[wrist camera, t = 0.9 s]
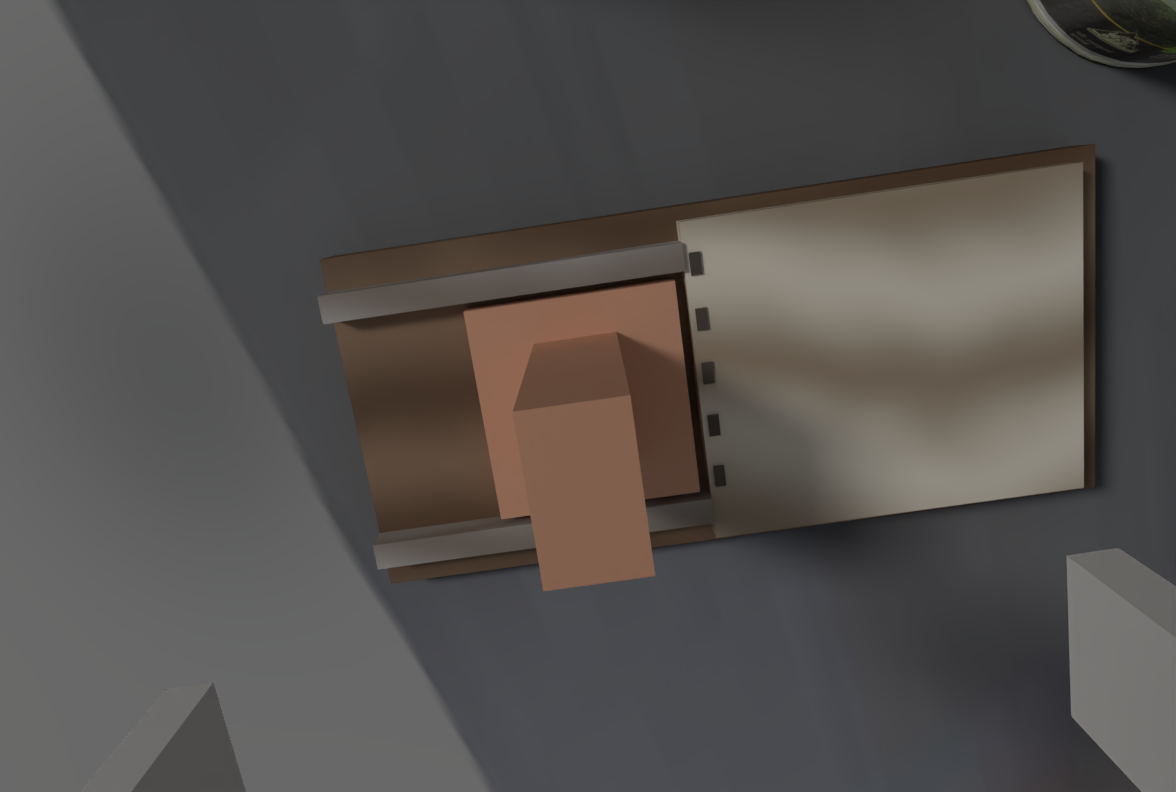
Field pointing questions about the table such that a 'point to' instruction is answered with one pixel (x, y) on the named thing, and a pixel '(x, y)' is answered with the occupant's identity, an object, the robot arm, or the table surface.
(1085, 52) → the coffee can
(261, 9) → the table surface
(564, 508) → the stub
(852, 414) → the board
